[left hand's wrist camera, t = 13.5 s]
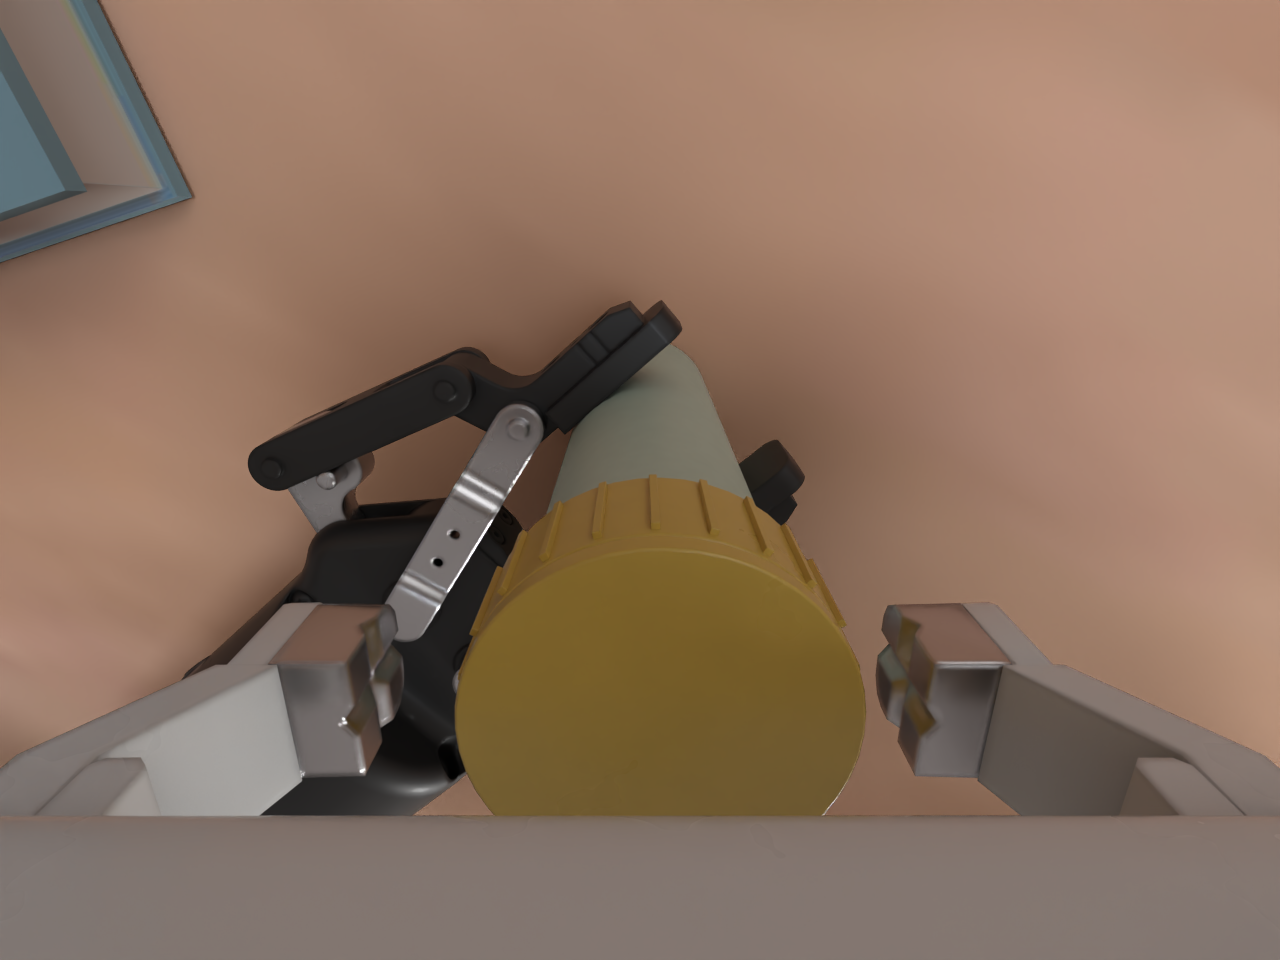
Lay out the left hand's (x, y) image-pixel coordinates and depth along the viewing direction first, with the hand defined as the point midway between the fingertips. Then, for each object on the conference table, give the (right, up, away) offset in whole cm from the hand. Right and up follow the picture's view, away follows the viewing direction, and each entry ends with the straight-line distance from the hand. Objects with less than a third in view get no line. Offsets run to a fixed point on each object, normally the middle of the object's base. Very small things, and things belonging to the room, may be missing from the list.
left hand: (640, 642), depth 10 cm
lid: (0, 0, -2) cm, 2 cm away
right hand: (+2, +5, +7) cm, 9 cm away
